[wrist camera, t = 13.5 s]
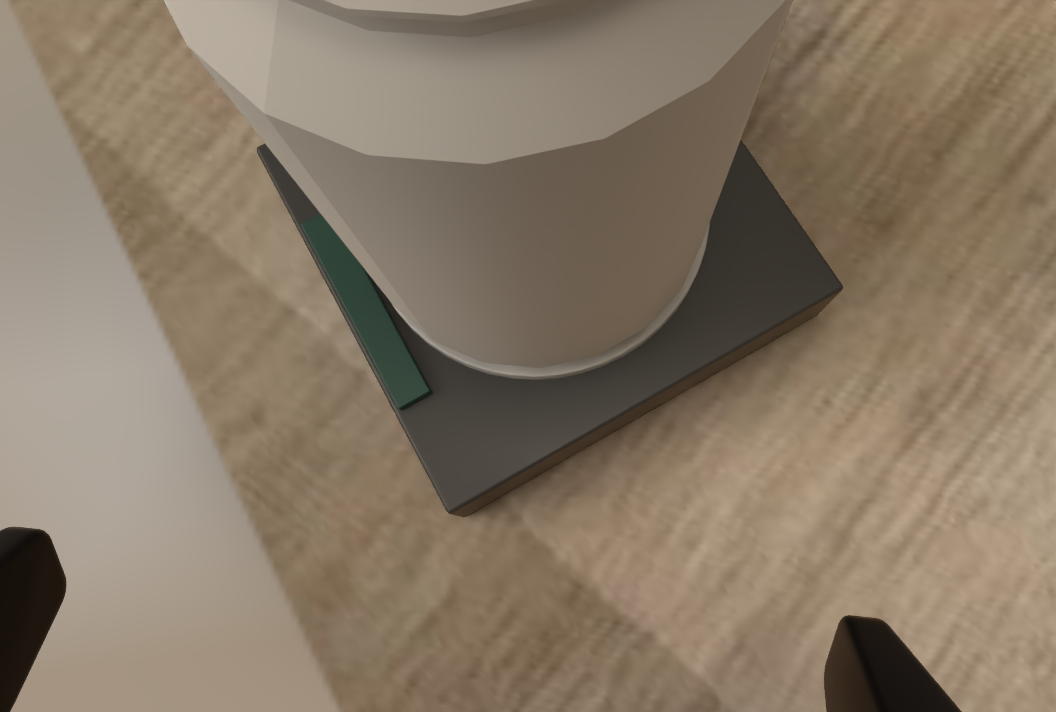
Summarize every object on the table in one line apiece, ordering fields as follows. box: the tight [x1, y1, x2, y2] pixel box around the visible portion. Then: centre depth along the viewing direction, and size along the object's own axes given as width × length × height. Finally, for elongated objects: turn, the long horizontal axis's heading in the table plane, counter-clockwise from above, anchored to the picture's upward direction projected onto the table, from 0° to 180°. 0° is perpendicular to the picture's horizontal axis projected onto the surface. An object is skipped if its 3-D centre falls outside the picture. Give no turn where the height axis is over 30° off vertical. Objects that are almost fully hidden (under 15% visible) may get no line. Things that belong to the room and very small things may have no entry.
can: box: [164, 0, 793, 368], centre depth 13 cm, size 8×8×12 cm
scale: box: [257, 140, 843, 517], centre depth 20 cm, size 10×10×3 cm
